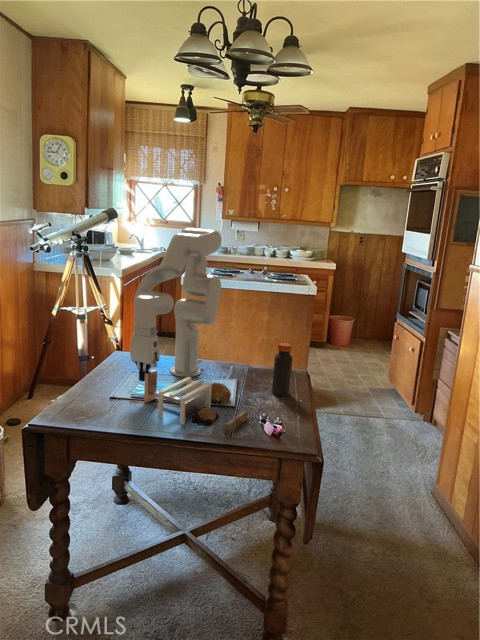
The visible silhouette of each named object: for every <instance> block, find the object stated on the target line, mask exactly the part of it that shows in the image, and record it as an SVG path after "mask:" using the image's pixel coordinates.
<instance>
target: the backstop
mask: <svg viewBox="0 0 480 640" xmlns="http://www.w3.org/2000/svg"><path fill="white" fill-rule="evenodd" d="M247 418H248V411H247V410H243V411H242V412H240V413H238V414H237V415H236V416H235V417H233V418H232V419H230V420H229V421H227V422H226V423H225V424H224V432H223V433H224V434H227V435H229V434H230V433H231V432H233V431H234V430H235V429H236V428H238V427H239V426H240V425H241V424H243V423H244V422H245V421H246V420H248V419H247Z"/></svg>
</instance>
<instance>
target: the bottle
mask: <svg viewBox="0 0 480 640" xmlns="http://www.w3.org/2000/svg"><path fill="white" fill-rule="evenodd" d="M277 351H278V353H276V354H275V356H274V363H273V373H272V384H271V393H272V395H274V396H277V397H281V398H282V397H287V396H289V394H290V387H291V378H292V369H293V356H292V355H291V352H292V344H290V343H288V342H280V343H278V347H277Z"/></svg>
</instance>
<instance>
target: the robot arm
mask: <svg viewBox="0 0 480 640" xmlns="http://www.w3.org/2000/svg"><path fill="white" fill-rule="evenodd" d="M221 245H222V235H221V233H220V232H219V231H217V230H215V229H206V228H196V227H186V228H184V229H181V231H180V233H179V232H178V233H176V234H173V236H172V237H171V240H170V242H169V244H168V246H167V249H166V251H165V254H164V256H163V257H162V259H161V262H160V264H159V265H157V266H156V267H154V269H152V270H151V271H149V272H148V273H147V274H146V275H145V276H144V277H143V278H142V279H141V281H140V283H139V284H138V286H137V289H136V291H135V294H134V297H133V298H134V300H133V305H134V307H133V309H134V310H133V333H132V334H131V340H130V348H129V349H130V350H129V355H130V361H131V362H132V363H133V364H135V365H136V367H137V370H138V381H140V382H145V373H147V372H149V371H150V369H151V368H153V369H155V368H156V367H158V363H157V362H159V361H160V356H161V355H160V342H159V341H160V340H159V336H158V335H157V334H158V333H159V331H158V330H157V316H158V315H166V314H168V313H170V312H172V310H173V309H174V311H173V312H174V320H175V345H174V346H175V347H174V365H173V366H172V367H171V368H170V373H171V374H172V375H174V376H176V377H179V378H180V377H181V378H187V377H191V378H192V377H196V376H199V375H200V374H201V368H200V367H199V365H200V364H202V363H203V359H202V358H198V356H199V341H200V340H199V339H200V331H199V329H198V324H199V325H203V326H211V325H213V324H214V322H215V321H216V318H217V315H218V310H219V303H220V299H221V292H222V283H221V279H220V278H219V277H218V276H217V275H213V274H208V273H207V269H208V260H207V256H210V255H211V254H214V253H216V252H218V250H219V249H220V247H221ZM183 271H184V276H183V281H182V291H183V293H184V294H185V295H188V296H193V297H196V298H197V297H199V298H204V300H200V299H194V298H180V299H178V300H177V301H176V302H175V301H174V298H173V296H172V295H170V294H169V293H166V292H160V291H155V290H153V289H154V288H155V287H157V285H159V284H161V283H162V282H166V281H170V280H173V279H175V278H178V277H180V276H181V275H182V274H183Z"/></svg>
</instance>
